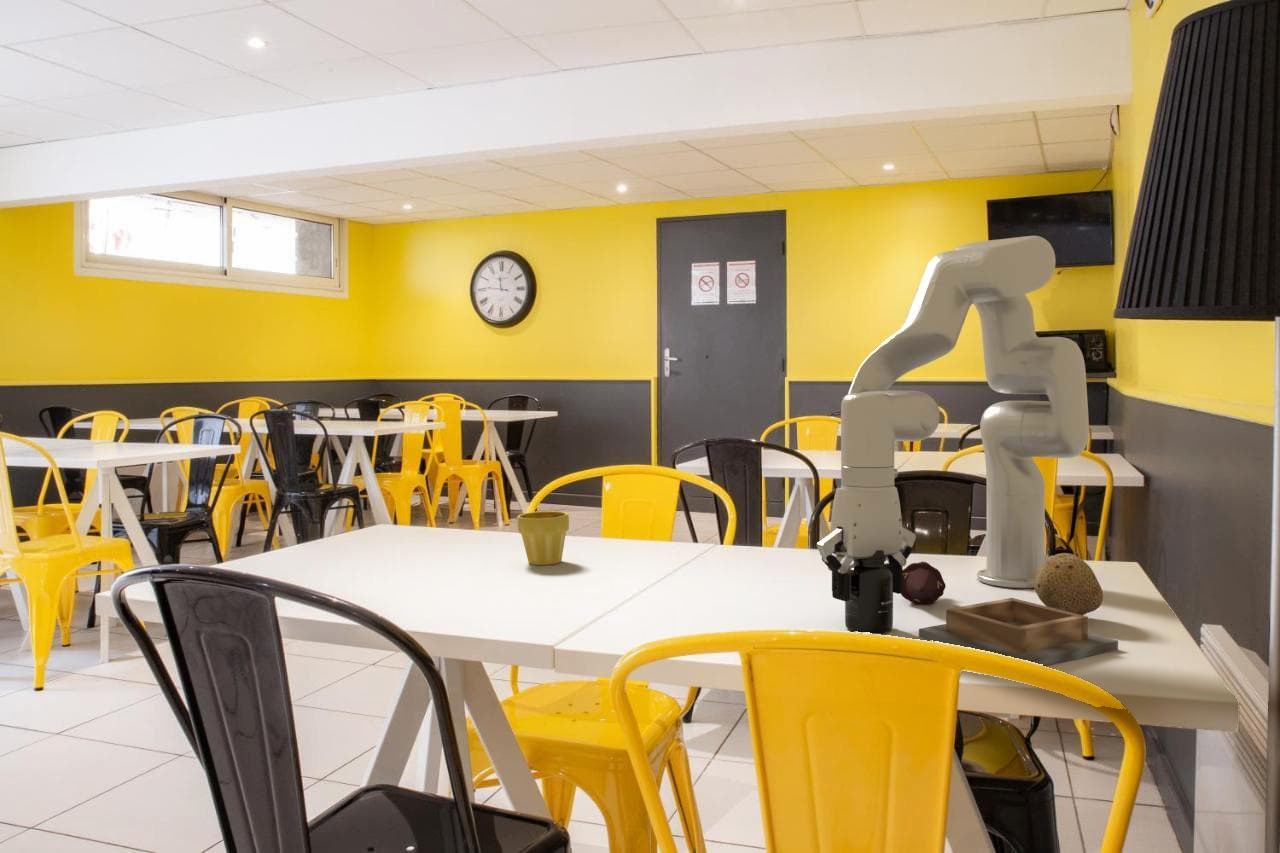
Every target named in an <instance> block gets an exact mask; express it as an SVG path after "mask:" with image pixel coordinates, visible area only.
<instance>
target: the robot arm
mask: <svg viewBox="0 0 1280 853" xmlns="http://www.w3.org/2000/svg"><path fill="white" fill-rule="evenodd" d="M1055 268H1056V254H1055V251H1054V248H1053V247H1052V244H1051V243H1050V242H1049V241H1048V240H1046V238H1044V237H1042V236H1039V235H1028V236H1018V237H1016V236H1015V237H1009V238H1000V239H991V240H983V241H975V242H970V243H965V244H963V245H962V244H961V245H959V246H957V247H956V248H954V249H952V250H947V251H944V252H940V253H939V254H938V253H937V254H936V255H935V256H934V257H931V259H930V260H929V262H928V263H927V264H926V267H925V269H924V271H923V274H922V276H921V279H920V281H919V284H918V287H917V289H916V291H915V294H914V296H913V299H912V302H911V304H910V306H909V308H908V311H907V313H906V316H905V320H904V321H903V324H902V325H901V327H900V328H899V329H898V330H897V331H895V333H893V334H892V335H890V336H889V337H888V338H887V339H885V341H883V342H882V343H881V344H880V345H879V346H878V347H877V348H876V349H875V350H874V351H872V352H871V353H870V354H869V355H868V356H867V357H866V358H865V359H864V360H863V362H862V363H861V365H860V366H859V368H858V369H857V371H856V372H855V376H854V377H853V380H852V382H851V384H850V387H849V390H848V392H847V394H846V395H845V396H844V397H842V400H841V405H840V420H841V421H840V461H841V462H840V468H841V469H840V472H841V473H840V481H841V482H840V487H837V488H836V490H835V493H834V497H833V498H834V499H833V502H832V508H831V509H832V510H831V520H830V533H829V534H828V535H826V536H825V537H823V538H822V539H821V540H820V541H818V542H817V543H816V548H817V550H818V552H819V554H820V556H821V561H822V562H823V564H825V565H826V567H827V569H828V571H831V592H832V593H831V595H832V598H833V599H836V600H840V601H843V602H845V601H849V600H850V575H849V573H846V571H847V569H848V568H849V566H850V565H852V564H853V562H854V561H853V560H854V559H862V558H869V557H871V556H873V554H874V553H875V552H876V551H877V550H882V551H883V550H884V555H886V562H888V563H886V562H885V565H886V566H888V567H889V568H890V569H891V570H892V573H893V594H898V595H901V593H902V570H903V567H905V566H906V565H907V559H908V558H909V556H910V555H911V554H912V550H913V549H912V548H913V546H914V543H915V541H916V539H917V535H916V534H915V533H914V532H912V531H911V530H909V529H907V528H905V527H903V524H902V523H903V521H902V512H901V511H902V510H901V503H900V502H901V501H900V496H899V492H898V488H897V487H896V486H895V479H896V478H898V476H899V470H898V469H897V468H895V442H920V441H923V440H925V439H927V438H929V437H931V435H933V434H934V433H935V431H936V430H937V429H938V426H939V423H940V420H941V414H940V413H941V412H940V408H939V406H938V404H937V402H936V400H935V399H934V398H933V397H932V396H930V395H929V394H927V393H925V392H923V391H918V390H894V389H892V390H891V389H889V388H890V387H891V386H892V385H893V384H894V383H895V382H896V381H897V380H899V379H900V378H901V377H903V376H904V375H906V374H907V373H909V372H912V371H914V370H916V369H918V368H920V367H923V366H925V365H928V364H930V363H932V362H933V361H934V362H935V361H936V360H938V359H940V358H942V357H944V356H946V355H948V354H950V352H951V351H953V349H954V348H955V347H956V346H957V342H958V340H959V337H960V334H961V331H962V329H963V326H964V324H965V322H966V321H965V320H966V318H967V316H968V312H969V311H970V308H971V306H972V305H974V306H975V309H976V311H977V314H978V317H979V320H980V327H981V336H982V350H983V358H984V359H983V360H984V361H983V362H984V370H985V378H986V379H985V380H986V382H987V384H988V387H989V388H990V389H991V390H993V391H995V392H996V393H1001V394H1008V395H1009V394H1011V395H1013V394H1014V395H1046V396H1047V398H1048V401H1047V400H1046V401H1044V400H1043V401H1042V400H1041V401H1040V400H1038V401H1037V400H1004V401H999V402H996V403H993V404H991V405H990V406H988V407H987V408H986V409H985V410H984V411H983V413H982V415H981V418H980V424H979V427H980V428H979V429H980V430H979V431H980V436H981V437H980V438H981V442H982V447H983V448H982V449H983V453H984V459H985V470H986V471H985V472H986V473H985V474H986V476H985V477H986V568H983V569H980V570H979V571H977V574H976V576H977V581H980V582H981V583H983V584H987V585H990V586H996V587H1003V588H1011V589H1012V588H1013V589H1015V588H1016V589H1035V588H1034V584H1035V579H1036V575H1037V572H1038V570H1039V568H1040V567H1041V566H1042V564H1043V563H1044V562H1045V561H1047V560H1048V559H1049V558H1051V557H1052V556H1053V555H1049V554H1047V553H1046V552H1045V546H1046V545H1045V541H1046V540H1045V539H1046V538H1045V536H1046V534H1045V533H1046V532H1045V531H1046V529H1045V528H1046V526H1045V525H1046V523H1045V522H1046V517H1045V516H1046V515H1045V512H1046V511H1045V510H1046V504H1045V503H1046V497H1045V495H1046V485H1045V478H1044V476H1043V474H1042V471H1041V470H1040V467H1039V466H1038V465H1037V463H1036V461H1035V460H1034V458H1035V457H1036V458H1053V459H1071V458H1075V457H1077V456H1079V455H1081V454H1082V453H1083V452H1084V451H1085V449H1086V448H1087V445H1088V441H1089V435H1090V434H1089V433H1090V432H1089V431H1090V424H1089V421H1090V420H1089V406H1088V391H1087V390H1088V388H1087V374H1086V373H1087V372H1086V371H1087V370H1086V364H1085V360H1084V355H1083V352H1082V350H1081V348H1080V347H1079V345H1078V344H1077V343H1076V342H1075V341H1074V340H1072V339H1070V338H1067V337H1063V336H1062V337H1061V336H1048V337H1047V336H1046V337H1042V336H1041V337H1038V335H1037V334H1036V327H1035V317H1034V310H1033V305H1032V304H1031V302H1030V300H1029V298H1028V297H1027V294H1029V293H1032V292H1035V291H1037V290H1039V289H1040V290H1041V288H1043V287H1044V286H1046V285H1047V284H1048V283H1049V282H1050V280H1051V279H1052V277H1053V275H1054V272H1055V270H1056V269H1055ZM888 389H889V390H888ZM1033 457H1034V458H1033Z"/></svg>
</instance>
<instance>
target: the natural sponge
mask: <svg viewBox="0 0 1280 853" xmlns="http://www.w3.org/2000/svg"><path fill="white" fill-rule="evenodd" d="M1051 556H1052V557H1051V558H1049V559H1048V560H1047V561H1045V562H1044V563H1043V564H1042V566H1041V567H1040V568H1039V570H1038V572H1037V575H1036V579H1035V584H1034V588H1033V589H1034V591H1035V593H1036V595H1037V597H1038V598H1039V600H1040V601H1041V602H1042V603H1043V604H1044V606H1047V607H1051V608H1055V609H1059V610H1063V611H1067V612H1071V613H1075V614H1079V615H1083V616H1086V614H1088V613H1091V612H1092V613H1093V612H1094V611H1097V610H1098V608H1100V606H1102V603H1103V600H1104V593H1103V589H1102V587H1101V584H1100V582H1099V581H1098V578H1097V576H1096V575H1095V573H1094V570H1093V569H1092V568H1091V566H1090V565H1089V564H1088V563H1087V562H1086V561H1085V560H1083V559H1082V558H1081V557H1079V556H1077V555H1075V554H1073V553H1068V552H1061V553H1056V554H1055V555H1051Z"/></svg>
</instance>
